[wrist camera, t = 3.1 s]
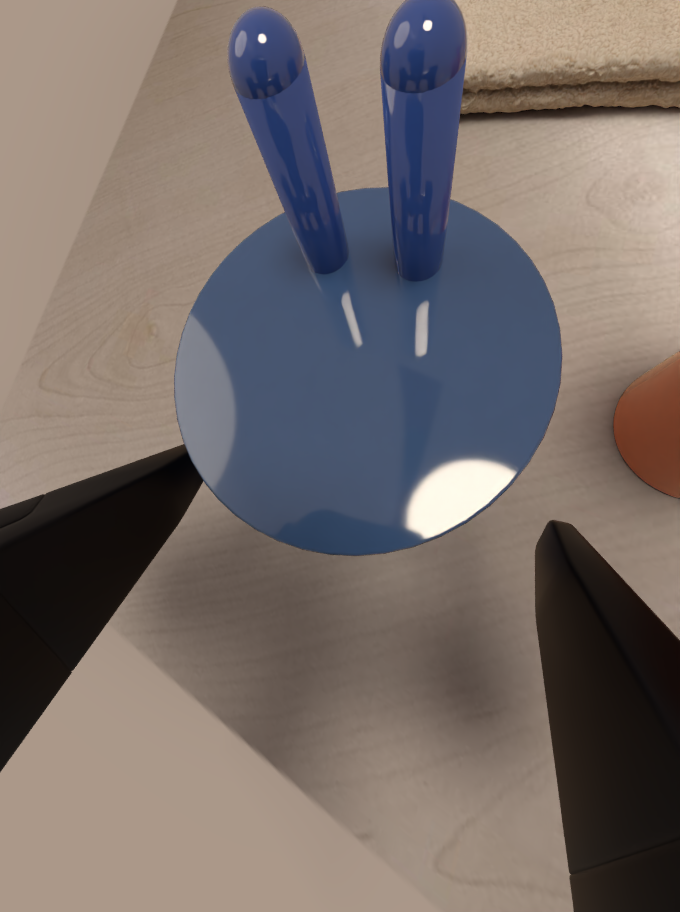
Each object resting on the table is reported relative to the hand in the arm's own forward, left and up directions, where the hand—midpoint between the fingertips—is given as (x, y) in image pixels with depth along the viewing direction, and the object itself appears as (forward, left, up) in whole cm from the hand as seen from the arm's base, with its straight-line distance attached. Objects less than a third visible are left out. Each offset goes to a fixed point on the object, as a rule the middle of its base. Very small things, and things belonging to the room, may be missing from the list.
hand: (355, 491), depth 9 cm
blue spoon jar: (+2, +1, -9) cm, 9 cm away
